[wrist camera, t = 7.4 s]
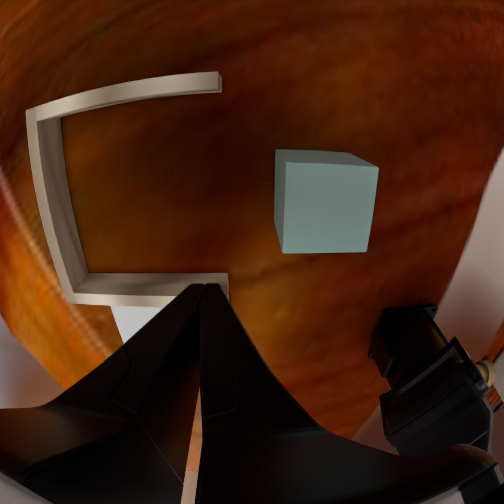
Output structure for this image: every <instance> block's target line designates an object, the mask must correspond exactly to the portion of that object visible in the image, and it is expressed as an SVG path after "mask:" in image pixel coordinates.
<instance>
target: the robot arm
mask: <svg viewBox="0 0 504 504" xmlns="http://www.w3.org/2000/svg"><path fill="white" fill-rule="evenodd" d="M437 309H438V307H437V306H436V304H427V305H419V306H410V307H401V308H392V309H386V310H384V311H383V313H382V316H381V319H380V322H379V325H378V328H377V330H376V332H375V335H374V338H373V341H372V344H371V347H370V351H369V354H368V356H369V359H371V360H373V359H375V362H376V364H377V366H378V369H379V371H380V374H381V376H382V377H383V378H384V379H386V378H387V380H388V382H389V384H390V387H391V390H389V391H388V392H386V393H383V394H382V395H380V396H379V397H380V407H381V413H382V420H383V428H384V435H385V437H386V440H387V442H388V443H390V444H391V445H392V447H393V448H394V449H395V450H396V451H398V452H399V454H400V456H399V455H394V454H391V453H387V452H384V451H381V450H378V449H375V448H371V447H369V446H366V445H363V444H360V443H357V442H354V441H351V440H349V439H346V438H343V437H340V436H338V435H335V434H333V433H331V432H329V431H327V430H326V429H324V428H323V427H321V426H320V425H319V424H318V423H317V422H316V421H315V420H314V419H313V418H312V417H311V416H310V415H309V414H308V413H307V412H306V411H305V410H304V409H303V408H302V407H301V405H300V404H299V403H298V402H297V401H296V400H295V399H294V398H293V397H292V395H291V394H290V393H289V392H288V391H287V390H286V389H285V388H284V386H283V385H282V384H281V383H280V382H279V380H278V379H277V378H276V377H275V375H274V374H273V373H272V372H271V370H270V369H269V367H268V366H267V364H266V363H265V361H264V360H263V358H262V357H261V355H260V353H259V352H258V350H257V349H256V347H255V345H254V344H253V342H252V340H251V338H250V337H249V335H248V333H247V332H246V330H245V328H244V326H243V325H242V323H241V321H240V320H239V318H238V316H237V314H236V313H235V311H234V309H233V307H232V306H231V304H230V302H229V300H228V299H227V297H226V295H225V293H224V292H223V290H222V288H221V286H220V285H219V284H218V283H206V284H205V285H204V284H203V283H191V284H190V285H188V286H187V287H186V288H185V289H184V290H183V291H182V292H181V293H179V294H178V295H177V296H176V297H175V298H174V299H173V300H172V301H171V302H169V303H168V304H167V305H166V306H165V307H164V308H163V309H162V310H160V311H159V312H158V313H157V314H156V315H155V316H154V317H153V318H152V319H150V320H149V321H148V322H147V323H146V324H145V325H144V326H143V327H142V328H141V329H139V330H138V331H137V332H136V333H135V334H134V335H133V336H132V337H131V338H130V339H128V340H127V341H126V342H125V343H124V346H123V345H122V346H121V347H120V348H118V349H117V350H116V351H115V352H114V353H113V354H112V355H111V356H109V357H108V358H107V359H106V360H105V361H104V362H103V363H101V364H100V365H99V366H98V367H96V368H95V369H94V370H92V371H91V372H90V373H89V374H87V375H86V376H85V377H83V378H82V379H81V380H79V381H78V382H77V383H75V384H74V385H73V386H71V387H70V388H69V389H67V390H66V391H64V392H63V393H62V394H60V395H59V396H58V397H56V398H55V399H53V400H52V401H50V402H48V403H46V404H44V405H41V406H38V407H33V408H15V409H14V408H12V409H11V408H9V409H0V504H181V497H182V492H183V483H184V478H185V471H186V464H187V458H188V452H189V446H190V439H191V433H192V427H193V421H194V416H195V410H196V404H197V398H198V393H199V387H200V396H201V416H202V449H201V457H200V465H199V472H198V480H197V488H196V496H195V504H504V478H503V476H502V473H501V471H500V469H499V467H498V461H497V460H496V459H495V458H494V455H493V453H492V451H491V449H490V447H491V438H492V427H493V410H492V408H491V406H490V405H489V403H488V401H487V399H486V397H485V395H486V394H487V393H489V392H490V391H491V390H490V388H489V386H488V384H487V383H486V381H485V379H484V377H483V375H482V374H481V372H480V370H479V369H478V367H477V365H476V364H475V362H474V361H473V360H472V358H471V356H470V355H469V354H468V352H467V351H466V349H465V348H464V347H463V346H462V344H461V343H460V342H459V340H458V339H457V338H456V337H455V336H454V337H453V338H452V339H451V342H448V341H447V339H446V338H445V336H444V335H443V333H442V332H441V331H440V329H439V328H438V326H437V325H436V324H435V322H434V321H433V319H434V316H435V314H436V312H437ZM387 314H388V315H387Z"/></svg>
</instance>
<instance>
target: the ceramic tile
mask: <svg viewBox="0 0 504 504" xmlns="http://www.w3.org/2000/svg"><path fill="white" fill-rule="evenodd" d="M227 299H228V300H229V294H228V298H227ZM110 306H111V305H110ZM163 308H164V307H135V306H111V309H112V312H113V315H114V318H115V321H116V324H117V326H118V329H119V332H120V335H121V337H122V340H123V343H125V342H126V341H127V340H128V339H130V338H131V337H132V336H133V335H134V334H135V333H136V332H137V331H138V330H139V329H141V328H142V327H143V326H144V325H145V324H146V323H147V322H148V321H149V320H150V319H152V318H153V317H154V316H155V315H156V314H157V313H158V312H159V311H160V310H162V309H163Z"/></svg>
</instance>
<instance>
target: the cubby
mask: <svg viewBox="0 0 504 504" xmlns="http://www.w3.org/2000/svg"><path fill="white" fill-rule="evenodd" d="M218 92H222V77H221V76H220V74H219V73H218V72H202V73H190V74H180V75H171V76H163V77H156V78H149V79H143V80H137V81H131V82H126V83H121V84H116V85H111V86H107V87H102V88H98V89H94V90H90V91H86V92H82V93H78V94H75V95H71V96H68V97H65V98H61V99H58V100H55V101H52V102H49V103H46V104H43V105H40V106H37V107H34V108H32V109H29V110H26V123H27V135H28V145H29V154H30V161H31V168H32V174H33V180H34V186H35V191H36V196H37V201H38V206H39V210H40V215H41V219H42V223H43V227H44V231H45V235H46V238H47V242H48V246H49V249H50V252H51V256H52V259H53V262H54V265H55V268H56V271H57V274H58V277H59V280H60V283H61V286H62V289H63V291H64V294H65V297H66V299H67V302H68V303H77V304H93V305H111V306H135V307H165V306H166V305H167V304H168V303H169V302H171V301H172V300H173V299H174V298H175V297H176V296H177V295H178V294H179V293H181V292H182V291H183V290H184V289H185V288H186V287H187V286H188V285H190V284H191V283H203V284H204V285H205V284H206V283H218V284H219V285H220V286H221V288H222V290H223V292H224V293H225V295H226V297H227V298H228V273H88V269H87V266H86V262H85V259H84V255H83V251H82V248H81V244H80V240H79V236H78V231H77V227H76V223H75V218H74V213H73V208H72V203H71V198H70V193H69V187H68V181H67V174H66V168H65V160H64V152H63V143H62V133H61V120H60V117H63V116H67V115H71V114H74V113H78V112H83V111H87V110H91V109H96V108H100V107H105V106H110V105H115V104H120V103H126V102H132V101H138V100H145V99H152V98H160V97H168V96H177V95H188V94H201V93H218Z"/></svg>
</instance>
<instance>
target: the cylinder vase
mask: <svg viewBox="0 0 504 504" xmlns="http://www.w3.org/2000/svg"><path fill="white" fill-rule="evenodd" d="M493 364H494V366H495V369H496V376H495V380H494V382H493V385H494V387H495V388H496V390H497V392H498V393H499V395H500V397H501V399H502V400H503V402H504V349H503V350H502V351H501V353H500V354H499V355H498V357H497V358H496V360H495V361H494V363H493Z"/></svg>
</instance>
